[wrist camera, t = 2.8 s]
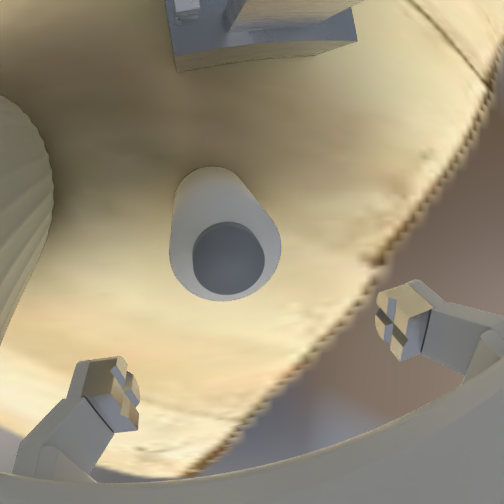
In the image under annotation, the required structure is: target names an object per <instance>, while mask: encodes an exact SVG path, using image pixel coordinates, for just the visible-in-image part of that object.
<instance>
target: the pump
mask: <svg viewBox="0 0 504 504" xmlns="http://www.w3.org/2000/svg"><path fill="white" fill-rule="evenodd" d="M280 255H281V240H280V235H279V232H278V229H277V227H276V225H275V223H274V222H273V220H272V219H271V218H270V216H269V215H268V214H267V212H266V211H265V210H264V209H263V207H262V206H261V205H260V204H259V202H258V201H257V200H256V198H255V197H254V196H253V195H252V193H251V192H250V191H249V190H248V188H247V187H246V186H245V185H244V183H243V182H242V181H241V180H240V178H239V177H238V176H237V175H236V174H234V173H233V172H231V171H230V170H228V169H225V168H222V167H217V166H207V167H202V168H199V169H197V170H194V171H193V172H191V173H189V174H188V175H187V176H186V177H185V178H184V179H183V180H182V181H181V183H180V184H179V186H178V188H177V190H176V193H175V197H174V206H173V216H172V226H171V237H170V250H169V256H170V263H171V267H172V270H173V272H174V274H175V276H176V278H177V279H178V281H179V282H180V283H181V284H182V285H183V286H184V287H185V288H186V289H187V290H188V291H190V292H191V293H193V294H195V295H196V296H199V297H201V298H204V299H207V300H212V301H232V300H237V299H240V298H243V297H246V296H248V295H250V294H252V293H254V292H255V291H257V290H258V289H260V288H261V287H262V286H263V285H264V284H265V283H266V282H267V281H268V280H269V279H270V278H271V276H272V275H273V273H274V272H275V270H276V268H277V265H278V263H279V259H280Z"/></svg>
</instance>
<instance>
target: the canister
mask: <svg viewBox="0 0 504 504" xmlns="http://www.w3.org/2000/svg"><path fill="white" fill-rule="evenodd" d="M52 172H53V171H52V169H51V167H50V163H49V155H48V154H47V152H46V149H45V146H44V141H43V140H42V138H41V137H40V135H39V133H38V129H37V127H36V126H34V125H33V123H32V122H31V120H30V117H29V116H28V115H27V114H25V113H23V112H22V110H21V108H20V107H19V106H18V105H17V104H15V103H12V102H10V100H9V99H7V98H6V97H4V96H1V95H0V345H1V342H2V340H3V337H4V335H5V332H6V330H7V327H8V325H9V323H10V320H11V318H12V316H13V314H14V311H15V309H16V307H17V304H18V302H19V300H20V298H21V296H22V293H23V291H24V289H25V287H26V285H27V282H28V280H29V278H30V276H31V274H32V272H33V270H34V267H35V265H36V263H37V261H38V259H39V257H40V255H41V252H42V249H43V246H44V244H45V242H46V240H47V237H48V229H49V227H50V224H51V222H52V209H53V206H54V200H53V190H54V184H53V182H52Z"/></svg>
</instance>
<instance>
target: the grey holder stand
mask: <svg viewBox="0 0 504 504" xmlns="http://www.w3.org/2000/svg"><path fill="white" fill-rule="evenodd" d="M362 1H363V0H165V4H166V10H167V17H168V23H169V29H170V35H171V41H172V47H173V53H174V59H175V63H176V68H177V73H179V72H184V71H189V70H194V69H199V68H204V67H210V66H216V65H222V64H229V63H236V62H243V61H251V60H260V59H271V58H283V57H298V56H314V55H317V54H320V53H323V52H326V51H329V50H332V49H335V48H338V47H341V46H344V45H347V44H351V43H354V42H357V36H356V30H355V25H354V20H353V15H352V10H351V6H353V5H355V4H357V3H360V2H362Z"/></svg>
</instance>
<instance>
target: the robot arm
mask: <svg viewBox="0 0 504 504" xmlns="http://www.w3.org/2000/svg"><path fill="white" fill-rule="evenodd" d="M377 304H378V306H380V308H379V310H378V311H377V313H376V316H375V317H376V318H375V324H376V328H377V331H378V333H379V335H380V337H381V338H382V340H383V341H386V342H389V343H391V345H390V350H391V351H392V352H393V354H394V355H395V356H396V357H397V359H398V360H399V361H400V362H401V361H404V360H406V359H408V358H411V357H413V356H415V355H418V354H420V353H421V354H422V355H423V356H425V357H427V358H429V359H431V360H434V361H436V362H438V363H440V364H442V365H444V366H446V367H448V368H450V369H452V370H454V371H456V372H459V373H460V374H463V375H465V376H464V379H463V381H462V383H461V385H460V386H458V387H457V388H455V389H453V390H452V391H450V392H448V393H446V394H445V395H443V396H441V397H439V398H437V399H435V400H434V401H432V402H430V403H428V404H426V405H424V406H422V407H421V408H418V409H416V410H415V411H413V412H410V413H408V414H406V415H404V416H402V417H400V418H398V419H396V420H394V421H391V422H389V423H387V424H385V425H383V426H380V427H378V428H375V429H373V430H371V431H368V432H366V433H363V434H361V435H358V436H356V437H353V438H351V439H348V440H345V441H343V442H340V443H337V444H334V445H331V446H329V447H325V448H323V449H319V450H316V451H314V452H310V453H307V454H304V455H300V456H297V457H294V458H290V459H286V460H283V461H279V462H275V463H271V464H267V465H263V466H258V467H254V468H250V469H244V470H240V471H234V472H229V473H224V474H218V475H211V476H205V477H198V478H190V479H181V480H171V481H159V482H144V483H98V482H96V481H95V480H94V479H92V478H91V477H90V476H89V474H90V472H91V470H92V469H93V467H94V466H95V464H96V463H97V461H98V459H99V458H100V456H101V455H102V453H103V451H104V450H105V448H106V447H107V445H108V443H109V442H110V440H111V439H112V437H113V435H114V433H119V432H128V431H136V430H138V420H139V413H138V411H137V410H136V409H135V408H136V406H137V405H138V404H139V403H140V392H139V386H138V384H137V381H136V379H135V377H134V375H133V374H131V373H130V372H128V371H127V363H126V361H125V360H124V358H123V357H121V356H115V357H108V358H100V359H93V360H85V361H79V362H78V363H77V364H76V367H75V370H74V374H73V377H72V380H71V384H70V387H69V391H68V394H67V398H66V399H62V400H61V401H60V402H59V403H58V404H57V405H56V406H55V407H54V408H53V409H52V410H51V411H50V412H49V413H48V414H47V415H46V416H45V417H44V418H43V419H42V421H41V422H40V423H39V424H38V425H37V426H36V427H35V428H34V429H33V430H32V431H31V432H30V433H29V434H28V435H27V436H26V437H25V438H24V439H23V440H22V442H21V443H20V445H19V449H18V452H17V456H16V460H15V464H14V468H13V473H12V474H8V473H3V472H0V504H504V316H500V315H497V314H493V313H489V312H486V311H482V310H479V309H475V308H471V307H467V306H464V305H460V304H457V303H453V302H448V303H446V302H445V301H444V300H443V299H441V298H440V297H439V296H438V295H437V294H436V293H434V292H433V291H432V290H431V289H430V288H429V287H427V286H426V285H425V284H424V283H423V282H422V281H420V280H417V279H415V280H413V281H410V282H407V283H405V284H403V285H400V286H397V287H394V288H391V289H388V290H385V291H383V292H379V294H378V296H377Z"/></svg>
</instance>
